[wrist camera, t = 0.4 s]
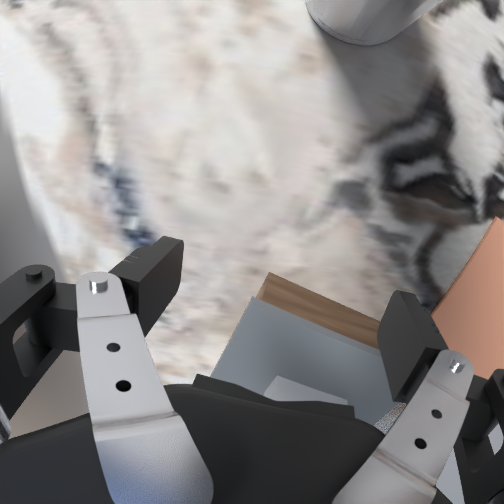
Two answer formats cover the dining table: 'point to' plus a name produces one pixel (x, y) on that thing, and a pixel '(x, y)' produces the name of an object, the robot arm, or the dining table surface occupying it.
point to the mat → (477, 306)
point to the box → (319, 310)
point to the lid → (303, 363)
